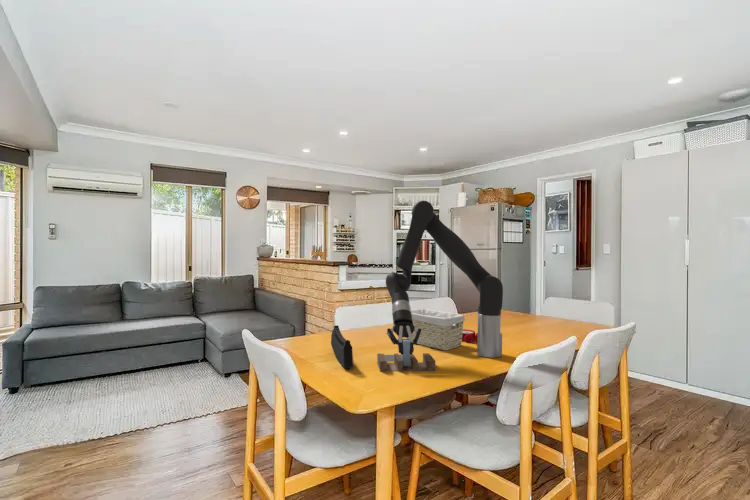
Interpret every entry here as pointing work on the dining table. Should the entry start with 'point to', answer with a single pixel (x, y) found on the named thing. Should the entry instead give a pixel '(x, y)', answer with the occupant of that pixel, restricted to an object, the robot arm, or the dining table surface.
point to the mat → (390, 357)
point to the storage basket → (438, 328)
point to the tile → (406, 352)
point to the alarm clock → (469, 336)
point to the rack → (426, 365)
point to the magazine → (341, 348)
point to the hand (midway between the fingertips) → (406, 353)
